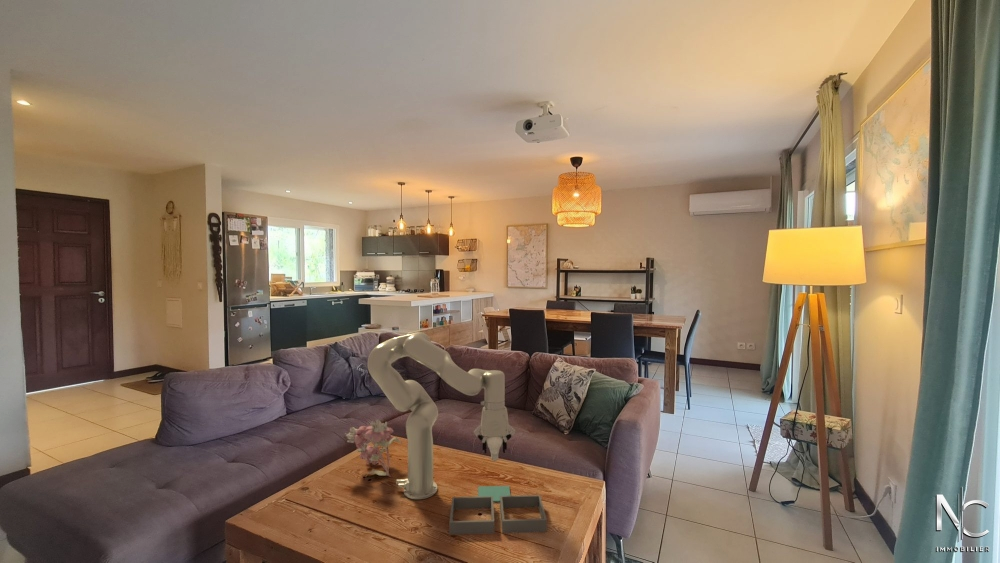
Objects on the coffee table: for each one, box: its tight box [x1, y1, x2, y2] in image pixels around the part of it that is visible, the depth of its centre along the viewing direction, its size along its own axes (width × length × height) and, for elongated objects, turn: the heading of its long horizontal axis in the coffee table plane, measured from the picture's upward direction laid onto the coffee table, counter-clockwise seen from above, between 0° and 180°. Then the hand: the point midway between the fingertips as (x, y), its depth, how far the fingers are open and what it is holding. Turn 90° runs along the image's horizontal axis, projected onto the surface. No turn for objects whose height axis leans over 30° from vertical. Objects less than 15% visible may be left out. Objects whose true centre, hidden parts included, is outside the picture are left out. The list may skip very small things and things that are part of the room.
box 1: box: [448, 496, 495, 536], centre depth 140 cm, size 14×14×4 cm
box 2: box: [499, 494, 548, 534], centre depth 141 cm, size 14×14×4 cm
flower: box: [344, 419, 403, 478], centre depth 173 cm, size 20×22×25 cm
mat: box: [477, 485, 511, 504], centre depth 155 cm, size 12×10×1 cm
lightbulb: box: [486, 437, 503, 462], centre depth 154 cm, size 6×6×11 cm
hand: (494, 451), depth 154 cm, fingers closed on lightbulb, 6 cm apart
